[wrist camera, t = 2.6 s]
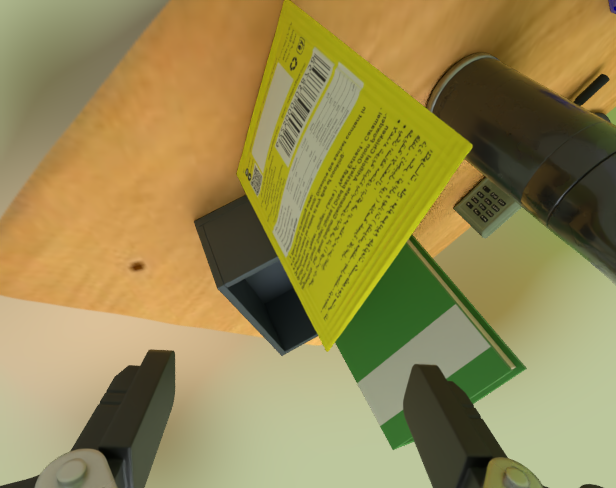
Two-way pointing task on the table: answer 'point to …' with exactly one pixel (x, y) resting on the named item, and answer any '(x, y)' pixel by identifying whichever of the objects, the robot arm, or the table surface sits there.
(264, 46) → the table surface
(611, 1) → the cable holder
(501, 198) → the grey-green rectangular bar
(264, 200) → the food package
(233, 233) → the waste bin
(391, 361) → the hardback book
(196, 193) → the table surface
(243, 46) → the table surface
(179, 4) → the table surface
